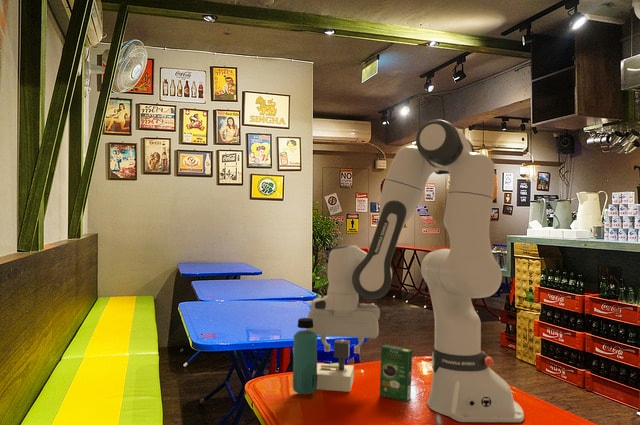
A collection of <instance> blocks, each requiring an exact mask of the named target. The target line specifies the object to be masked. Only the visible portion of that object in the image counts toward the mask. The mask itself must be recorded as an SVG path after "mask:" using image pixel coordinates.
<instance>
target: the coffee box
mask: <svg viewBox="0 0 640 425" xmlns="http://www.w3.org/2000/svg"><path fill="white" fill-rule="evenodd" d="M380 350H381V351H380V352H381V353H380V376H379V378H380V379H379V381H380V382H379V396H381V397H384V398H389V399H393V400H398V401H400V402H404V403H408V402H409V401H410V400H411V397H412V396H411V395H412V392H411V390H412V374H413V373H412V372H413V371H412V367H413V366H412V365H413V350H412V349H408V348H404V347H398V346H394V345H388V344H384V345H382V346H381V349H380Z"/></svg>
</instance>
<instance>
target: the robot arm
mask: <svg viewBox="0 0 640 425" xmlns="http://www.w3.org/2000/svg"><path fill="white" fill-rule="evenodd" d="M415 136H416V137H415V144H416V145H405V146H403V147H401V148H400V149H398V151H397V152H396V153H395V156H394V158H393V159H392V161H391V163H390V166H389V168H388V170H387V172H386V176H385V178H384V182H383V185H382V189H381V194H380V200H379V202H380V203H379V211H378V212H379V213H378V221H377V223H376V224H377V225H376V228H375V230H374V234H373V236H372V239H371V242H370V246H369V248H368V251H367V252H366V251H365V250H362V249H361V248H360V247H358V246H357V245H356V244H346V245H345V244H344V245H340V246H335V247H334V248H332V249H331V251H330V252H329V255H328V261H327V262H328V263H327V279H328V285H327V286H328V287H327V289H326V290H327V291H326V295H323V296H321V297H316V298H315V299H313V300H312V301H311V303H310V308H311V309H310V311H309V312H308V314H307V317H306V318H311V319H313V328H305V330H310V331H313V332H314V333H315V334H316V335H317V336H320V341H321V343H322V344H323V347H324V349H323V350H324V352H327V353H329V352H331V343H328V342H327V337H343V338H344V337H345V338H346V337H347V338H357V339H358V340H357V341H358V344H357V345H354V346H353V354H360V349H361V346H362V344H363V343H364V341H365V339H377V337H378V336H379V322H378V320H379V319H380V317H381V310H380V308H379V306H377V305H375V303H365V302H364V303H363V302H362V303H361V302H360V303H359V300H360V298H359V296H360V297H361V298H363V299H367V300H372V301H373V300H374V301H375V300H378V299H381V298H383V297H385V295H387V294H388V293H389V291H390V289H391V285H392V279H393V269H392V266H391V263H392V258H393V256H394V253H395V251H396V247H397V244H398V241H399V238H400V235H401V233H402V231H403V229H404V227H405V226H406V224H407V223H408V221H409V220H410V219H411V217H412V216H413V215H414V213H415V212H416V209H417V208H418V206H419V205H420V202H421V200H422V198H423V195H424V192H425V188H426V185H427V182H428V180H429V178H430V176H431V175H432V174H434V173H435V175H447V174H449V185H448V189H447V196H446V197H447V198H446V203H445V209H444V215H443V216H444V217H443V226H444V228H445V230H446V231H447V233H448V238H449V248H440V249H436V250H433V251H430V252H428V253H427V254H425V256H424V257H423V259H422V261H421V264H420V272H421V276H422V279H423V280H424V281H425V283H426V285H427V288H428V292H429V295H430V299H431V304H432V310H433V315H434V316H433V317H434V318H433V319H434V346H433V348H432V353H431V354H432V355H431V367H432V370H433V373H432V381H431V385H430V386H431V387H430V392H429V395H428V398H427V402H426V405H427V406H428V407H429V409H431V410H432V411H434V412H436V413H438V414H441V415H444V416H447V417H449V418H451V419H452V420H455V421H457V422H460V423H522V422H523V421H524V420H525V415H524V410H523V408H522V407H521V406H520V404H519V403H518V402H517V401H515V400H514V396H513V392H512V389H511V387H510V385H509V383H507V381H506V380H504V379H503V378H502V377H501V376H499V374H497V372H495V371H494V370H493V369H491V367H493V366H494V364H495V361H494V360H493V358H492V357H491V356H490V355H488V354H487V353H485V351H482V350H481V348H482V347H481V346H482V343H481V340H482V333H481V331H482V330H481V329H482V322H481V319H480V317H479V316H480V315H478V313H477V312H476V310H475V307H474V305H473V303H472V299H480V298H482V299H483V298H489V297H492V296H493V295H494V294H495V293H497V292H498V290H499V288H500V286H501V284H502V280H503V273H502V272H503V271H502V269H501V266H500V264H499V262H498V261H497V260H496V259H495V256H494V254H493V250H492V245H491V239H490V238H491V237H490V224H491V216H492V211H493V210H492V207H493V201H494V195H495V186H496V185H495V183H496V182H495V181H496V180H495V179H496V177H495V176H496V175H495V174H496V173H495V171H496V170H495V164H494V162H493V160H492V159H491V158H490V156H488V155H486V154H484V153H481V152H475V149H474V146H473V144H472V142H471V141H470V140H469V138H467V137H466V135H465V134H464V133H463V132H462V130H460V129H459V128H457V127H456V126H455V125H453V124H452V123H450V122H449V121H447V120H443V119H432V120H430V121H427V122H426V123H424V124H423V125H422V126H421V127H420V128H419V129H418V131H417V133H416V135H415Z"/></svg>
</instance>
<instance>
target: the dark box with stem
mask: <svg viewBox="0 0 640 425" xmlns="http://www.w3.org/2000/svg"><path fill="white" fill-rule="evenodd" d="M350 347H351V341H350V340H349V339H335V340H334V342H333V359H334V358H336V359H337V358H338V364H339V366H335V365H321V368H336V369H339V370H344V364H345V360H346V359H349V357H350V353H351V350H350ZM345 365H346V364H345Z"/></svg>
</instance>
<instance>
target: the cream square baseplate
mask: <svg viewBox="0 0 640 425" xmlns="http://www.w3.org/2000/svg"><path fill="white" fill-rule="evenodd" d="M321 365H335V366H339V362H333V363H320V362H319V363H318V362H317V366H318V367H317V389H316V390H321V391H322V390H323V391H333V392H334V391H336V392H349V393H350V392H351V391H352V386H353V383H354V379H355V378H354V377H355V376H354V375H355V371H354V369H355V365H352V364H351V365H348V364H347V365H346V364H344V370H339V369H336V368H321Z"/></svg>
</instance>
